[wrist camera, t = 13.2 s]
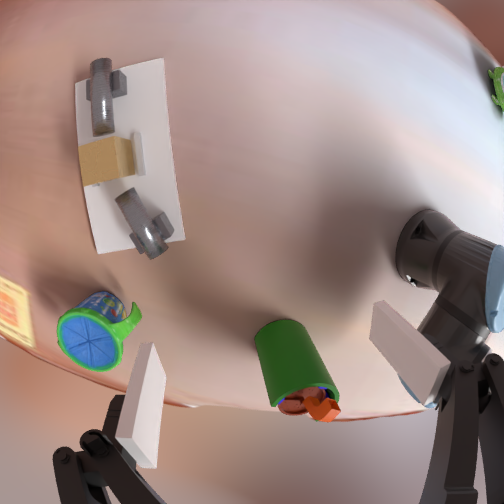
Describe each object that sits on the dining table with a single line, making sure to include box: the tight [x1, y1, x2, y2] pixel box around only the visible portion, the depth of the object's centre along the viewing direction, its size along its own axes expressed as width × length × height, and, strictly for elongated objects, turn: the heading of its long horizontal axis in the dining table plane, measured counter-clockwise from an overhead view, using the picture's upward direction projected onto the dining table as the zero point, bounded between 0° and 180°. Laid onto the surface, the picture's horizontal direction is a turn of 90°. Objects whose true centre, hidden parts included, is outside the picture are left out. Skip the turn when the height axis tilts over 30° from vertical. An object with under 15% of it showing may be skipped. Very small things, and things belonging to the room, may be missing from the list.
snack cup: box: [57, 291, 142, 372], centre depth 36 cm, size 16×10×10 cm
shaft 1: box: [86, 58, 127, 137], centre depth 28 cm, size 10×5×6 cm, turn 6°
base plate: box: [75, 58, 185, 254], centre depth 33 cm, size 14×27×2 cm, turn 6°
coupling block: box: [78, 136, 135, 187], centre depth 30 cm, size 5×5×7 cm
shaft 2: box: [114, 187, 174, 260], centre depth 34 cm, size 9×5×6 cm, turn 26°
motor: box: [254, 320, 341, 422], centre depth 38 cm, size 10×9×20 cm
